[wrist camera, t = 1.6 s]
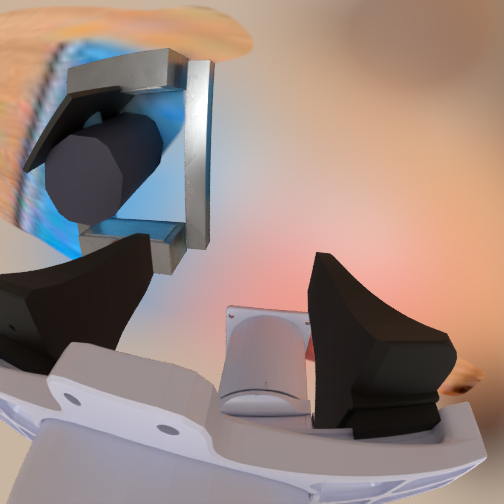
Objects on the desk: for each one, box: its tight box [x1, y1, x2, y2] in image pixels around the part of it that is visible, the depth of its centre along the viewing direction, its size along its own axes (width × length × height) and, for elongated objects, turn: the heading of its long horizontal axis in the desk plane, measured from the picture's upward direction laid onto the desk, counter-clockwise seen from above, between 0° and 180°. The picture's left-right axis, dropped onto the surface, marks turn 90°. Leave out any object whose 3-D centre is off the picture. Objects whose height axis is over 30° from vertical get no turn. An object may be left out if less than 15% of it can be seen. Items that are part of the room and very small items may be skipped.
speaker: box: [23, 86, 163, 226], centre depth 16 cm, size 8×6×10 cm
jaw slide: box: [78, 218, 187, 275], centre depth 19 cm, size 3×8×10 cm, turn 87°
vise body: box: [67, 48, 215, 250], centre depth 19 cm, size 14×12×4 cm
